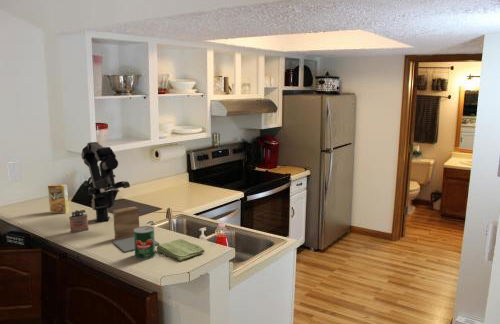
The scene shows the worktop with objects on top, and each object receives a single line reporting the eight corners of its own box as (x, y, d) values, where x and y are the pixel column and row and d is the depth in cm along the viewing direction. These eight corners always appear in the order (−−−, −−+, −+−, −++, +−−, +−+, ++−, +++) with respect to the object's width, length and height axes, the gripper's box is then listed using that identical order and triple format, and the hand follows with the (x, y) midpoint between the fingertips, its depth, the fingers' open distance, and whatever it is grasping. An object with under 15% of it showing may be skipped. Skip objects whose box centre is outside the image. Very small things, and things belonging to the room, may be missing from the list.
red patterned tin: (71, 233, 198) (69, 212, 197) (69, 231, 201) (67, 211, 200) (89, 230, 203) (87, 209, 201) (87, 228, 206) (86, 208, 204)
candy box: (50, 213, 232) (47, 185, 230) (54, 211, 236) (51, 183, 234) (65, 213, 232) (63, 185, 229) (69, 211, 236) (67, 183, 233)
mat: (112, 242, 186) (112, 241, 186) (145, 235, 195) (145, 234, 195) (124, 252, 174) (124, 251, 174) (159, 244, 183) (159, 243, 183)
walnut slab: (114, 238, 191) (112, 210, 189) (136, 233, 197) (134, 206, 195) (117, 241, 188) (116, 212, 186) (139, 236, 194) (138, 208, 192)
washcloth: (180, 263, 164) (180, 255, 163) (154, 251, 176) (154, 244, 175) (207, 254, 173) (207, 246, 172) (180, 243, 185) (180, 236, 185)
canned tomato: (139, 261, 165) (137, 233, 164) (132, 255, 172) (130, 228, 170) (158, 256, 170) (157, 229, 168) (150, 250, 176) (149, 224, 174)
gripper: (79, 176, 197) (83, 210, 195) (115, 168, 193) (120, 202, 191) (93, 177, 208) (98, 209, 206) (128, 169, 204) (132, 202, 202)
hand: (111, 206), depth 201 cm, fingers closed
